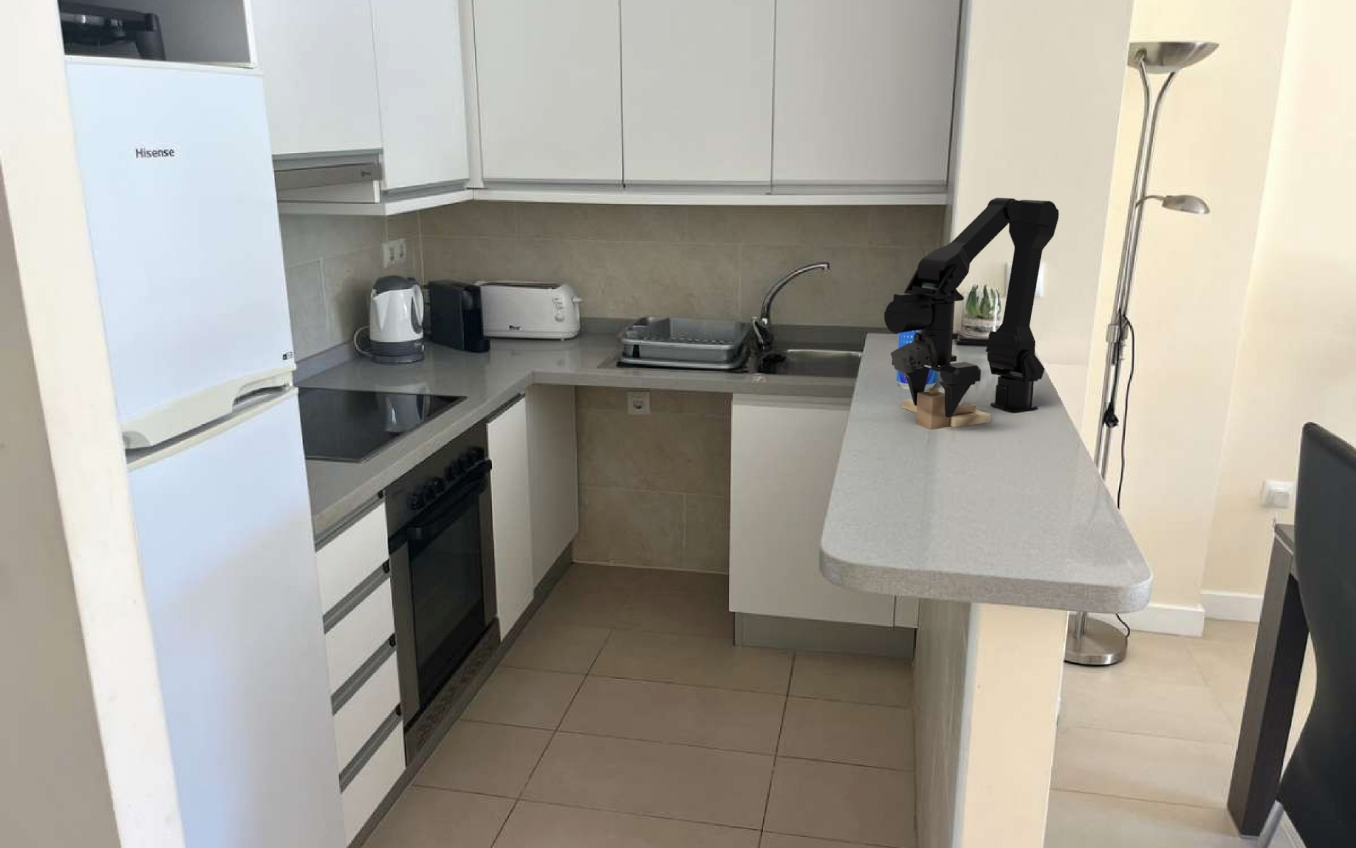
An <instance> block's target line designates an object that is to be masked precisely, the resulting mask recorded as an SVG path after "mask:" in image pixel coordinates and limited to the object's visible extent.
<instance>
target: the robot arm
mask: <svg viewBox="0 0 1356 848" xmlns="http://www.w3.org/2000/svg"><path fill="white" fill-rule="evenodd" d="M1059 214H1060V212H1059V209H1058V208H1057V206H1056V204H1055V203H1054V202H1053V201H1051V200H1034V199H1019V200H1018V199H1016V198H1013V197H1012V198H1011V197H995V198H992V199H991V200H989V202H988V203H987V205H986V208H984V209H983V210H982V211H981V212H980V213H979V214H978V215H977V216H975V218H974V219H973V220H972V221H971V222H970V223H969V224H968V225H967V226H966V227H965V228H964V229H963V230H962V231H961V232H960V233H959V234H958V235H957V236H956V237H955V238H954V239H953V240H952V241H951V242H950V243H948V244H946V245H945V246H942V247H938V248H936V249H934V250H933V251H931V252H930V253H927V255H926V256H923V258H922V259H921V260H920V261H919V263H918V265H917V269H916V270H915V272H914V274H913V275H912V277H911V279H910V280H909V283H908V285H907V287H906V288H905V289H904V293H894V294H893V300H892V301H891V302H889V303H888V305H887V306H886V308H885V311H884V313H883V314H884V315H883V319H884V323H885V326H886V327H887V329H888V330H889V331H890V332H891V333H893V334H899V333H903V332H910V331H917V330H920V332H915V334H914V340H913V342H911V343H909V344H906V345H904V346H902V347H900V348H898V347H897V348H896V349H895V350H893V351H892V352H890V356H891V365H892V366H893V368H894V370H896V371H897V370H898V371H900V372H901V373H902V374H903V375H904V376H905V377H906V379H907V382H908V385H909V389H910V390H909V392H910V395H911V399H913V403H914V405H915V406H917V393H919V392H925V391H926V390H925V386H926V382H927V378H928V374H929V370H930V369H931V370H934V371H938V373H939V376H940V379H941V381H938V383H939V385H940V386H941V387H942V388H943V390H944V393H945V416H946V417H947V418H948V417H952V415H953V413H954V412H955V410H956V408H957V406H958V405H959V404H961V401H962V400H963V398H964V396H965V395H966V394H967V392H968V390H969V389H970V388H971V386H973V385H976V382H981V378H982V377H981V376H982V370H981V367H979V366H978V364H974V363H970V362H968V361H961V362H957V361H958V360H957V358H958V356H957V355H954V354H953V343H954V342H953V340H958V339H959V333H957V332H954V324H955V323H954V321H955V306H956V305H955V304H956V302H961V301H964V300H965V297H964V296H963V295H962V293H960V292H959V290H957V289H958V288H959V287H960V285H962V283H963V281H964V280H965V278H966V277H967V276H968V275H969V273H970V267H971V263H972V262H973V260H974V259H975V258H976V257H977V256H978V255H979V254H980V253H981V252H982V251H983V250H984V249H985V248H986V247H987V246H988V245H989V244H990V243H991V242H992V241H993V240H994V239H995V238H996V237H997V236H998V235H999V234H1000V233H1001V232H1002V231H1003V230H1004V229H1005V228H1006V227H1007V226H1008V233H1009V236H1010V239H1011V241H1012V245H1013V246H1014V250H1013V256H1012V261H1011V268H1010V274H1009V280H1008V286H1007V294H1006V299H1005V305H1004V312H1003V317H1002V322H1001V324H1000V325H999V327H998V328H997V329H996V330H995V331H994V330H993V331H992V330H991V331H989V333H988V336H987V337H988V342H987V346H986V348H985V352H986V353H987V354H986V355H987V356H986V358H987V362H988V364H989V369H990V374H991V375H994V376H995V375H996V376H997V384H996V385H995V393H994V394H995V395H994V397H995V398H994V401H993V402H990V406H991V407H994V408H997V409H1001V410H1003V411H1007V412H1009V413H1017V412H1025V411H1031V410H1038V408H1039V406H1038V405H1035V404H1033V399H1034V398H1033V397H1034V384H1035V382H1039V380H1042V379H1043V375H1044V373H1045V367H1044V366H1043V364H1042V363H1041V361H1040V360H1039V359H1038V357H1037V355H1036V340H1035V338H1034V334H1033V332H1032V329H1031V326H1030V325H1031V320H1032V316H1033V315H1032V314H1033V307H1034V302H1035V295H1036V289H1037V284H1038V277H1039V272H1040V265H1041V261H1042V260H1041V259H1042V255H1043V251H1044V249H1045V247H1046V246H1047V245H1048V244H1049V243H1050V241H1051V240H1052V239H1053V238H1054V235H1055V233H1056V229H1057V226H1058V222H1059V216H1060V215H1059Z"/></svg>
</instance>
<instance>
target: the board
mask: <svg viewBox="0 0 1356 848" xmlns="http://www.w3.org/2000/svg"><path fill="white" fill-rule="evenodd" d="M960 404H961V403H959V405H960ZM902 409H905V410H908V411H910V412H913V413H917V406H915V405H914V403H913V399H912V398H909V399H902ZM990 422H991V413H988V412H986V411H985V412H984V411H982V410H979V409H977V408H976V411H973V412H967V413H960V414H954V415H952V417H949V427H953V428H960V427H967V426H973V425H979V424H985V423H986V424H987V423H990Z"/></svg>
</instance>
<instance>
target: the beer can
mask: <svg viewBox="0 0 1356 848" xmlns="http://www.w3.org/2000/svg"><path fill="white" fill-rule="evenodd" d="M915 332H920V330H917V331H910V332H903V333H897V334H898V335H897V336H898V337H897V340H898V341H897V349H898V348H900V347H902V346H904V345H906V344H909V343H911V342H913V340H914V334H915ZM938 373H939V372H938V371H934V370H931V369H930V370H929V374H928V378H927V382H926V386H925V390H924V391H930V388H934V386H935V384H937V383H938ZM896 382H897V384H899V387H900V388H901V389H905V390H907V391H908V390H909V391H910V389H909V385H908V382H907V379H906V377H905V376H904V375H903V374H902V373H901V372H900V371H898V370H896Z"/></svg>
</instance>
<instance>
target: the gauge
mask: <svg viewBox="0 0 1356 848" xmlns="http://www.w3.org/2000/svg"><path fill="white" fill-rule="evenodd" d="M959 404H960V405H958V406H957V408H956V410H955V412H954V413H953V415H954V414H960V413H967V412H973V411H976V409H977V405H974V404H971V403H969V402H968V403H962V404H961V403H959ZM915 425H918V426H920V427H923V428H926V429H927V430H930V431H931V430H932V431H933V430H938V429H944V428H949V427H950V425H949V417H948V418H947V417H946V416H945V392H941V391H939V388H938V387H933V388H930V389H929V390H926V391H924V392H919V393H917V413H916V419H915Z"/></svg>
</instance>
